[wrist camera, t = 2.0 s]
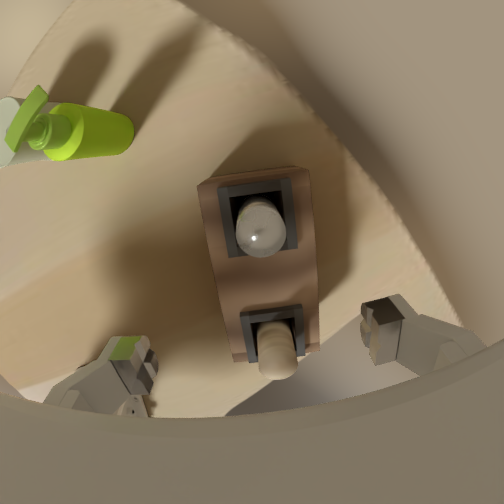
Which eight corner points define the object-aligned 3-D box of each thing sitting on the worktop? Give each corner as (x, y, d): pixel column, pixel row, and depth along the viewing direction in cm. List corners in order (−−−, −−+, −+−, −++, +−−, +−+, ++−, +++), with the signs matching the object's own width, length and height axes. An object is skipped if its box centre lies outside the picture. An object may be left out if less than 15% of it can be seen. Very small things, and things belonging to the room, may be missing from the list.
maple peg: (289, 333, 35) (298, 376, 28) (258, 338, 36) (261, 381, 28) (287, 307, 34) (296, 349, 27) (254, 312, 34) (256, 354, 27)
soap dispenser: (147, 125, 33) (57, 109, 14) (115, 163, 34) (15, 183, 16) (121, 99, 31) (24, 72, 13) (90, 138, 33) (-14, 142, 14)
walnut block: (307, 314, 43) (321, 355, 33) (236, 323, 43) (233, 367, 34) (294, 165, 35) (310, 171, 26) (208, 177, 36) (194, 187, 26)
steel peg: (278, 228, 31) (288, 253, 23) (241, 233, 31) (239, 260, 23) (274, 191, 29) (283, 205, 22) (235, 196, 30) (231, 212, 22)
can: (70, 159, 34) (17, 167, 23) (30, 161, 33) (-22, 171, 22) (76, 98, 31) (24, 89, 19) (34, 106, 30) (-17, 103, 19)
